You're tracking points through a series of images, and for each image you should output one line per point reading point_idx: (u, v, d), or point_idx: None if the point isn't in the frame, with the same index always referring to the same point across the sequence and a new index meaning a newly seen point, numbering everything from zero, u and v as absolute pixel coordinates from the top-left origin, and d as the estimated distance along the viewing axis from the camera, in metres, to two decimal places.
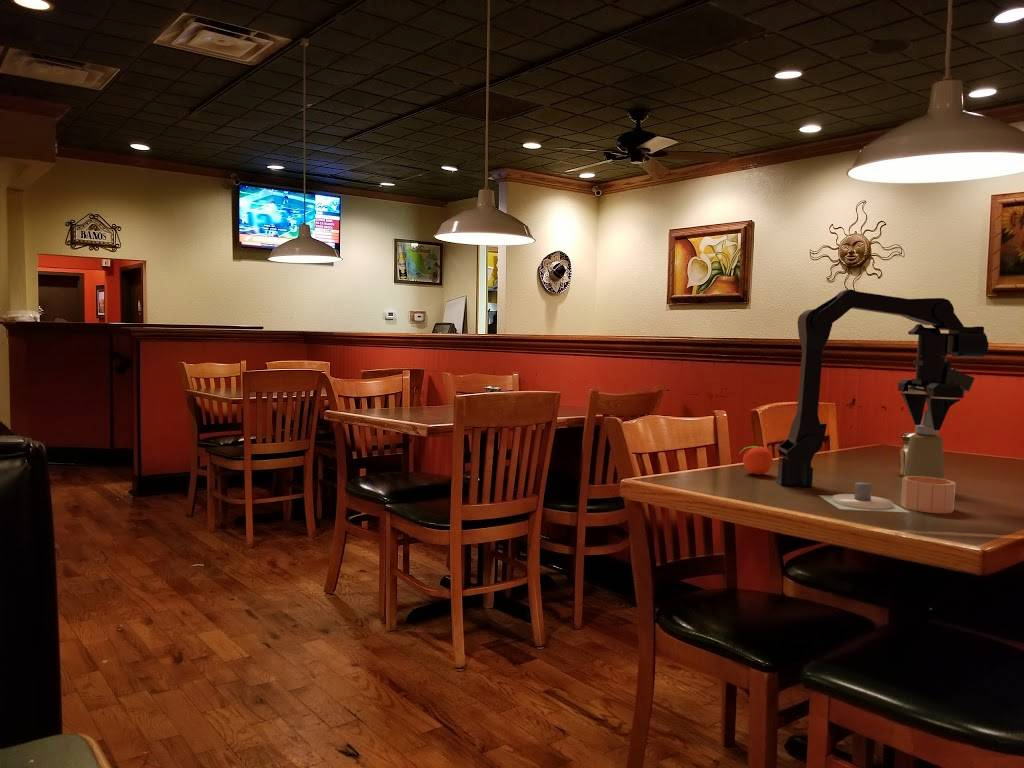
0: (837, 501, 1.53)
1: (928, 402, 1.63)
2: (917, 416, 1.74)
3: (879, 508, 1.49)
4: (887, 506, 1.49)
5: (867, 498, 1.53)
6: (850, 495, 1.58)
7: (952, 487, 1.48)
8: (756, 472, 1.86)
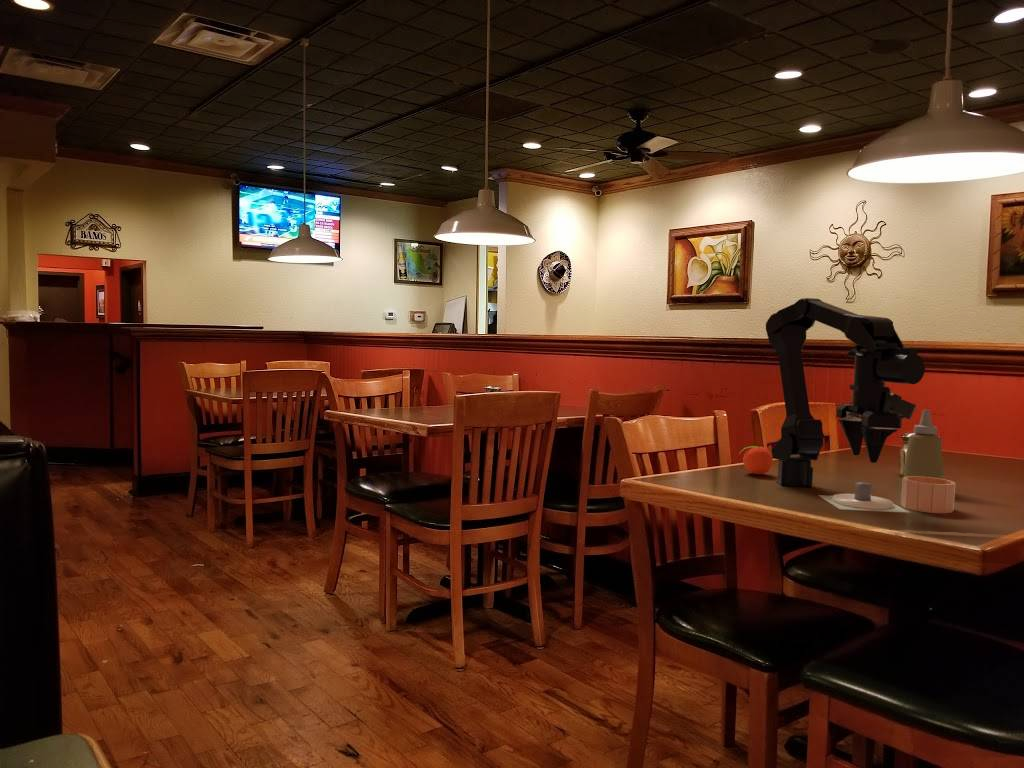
0: (837, 500, 1.53)
1: (863, 432, 1.48)
2: (856, 445, 1.58)
3: (879, 508, 1.49)
4: (887, 506, 1.49)
5: (867, 497, 1.53)
6: (850, 495, 1.58)
7: (952, 487, 1.48)
8: (756, 472, 1.86)
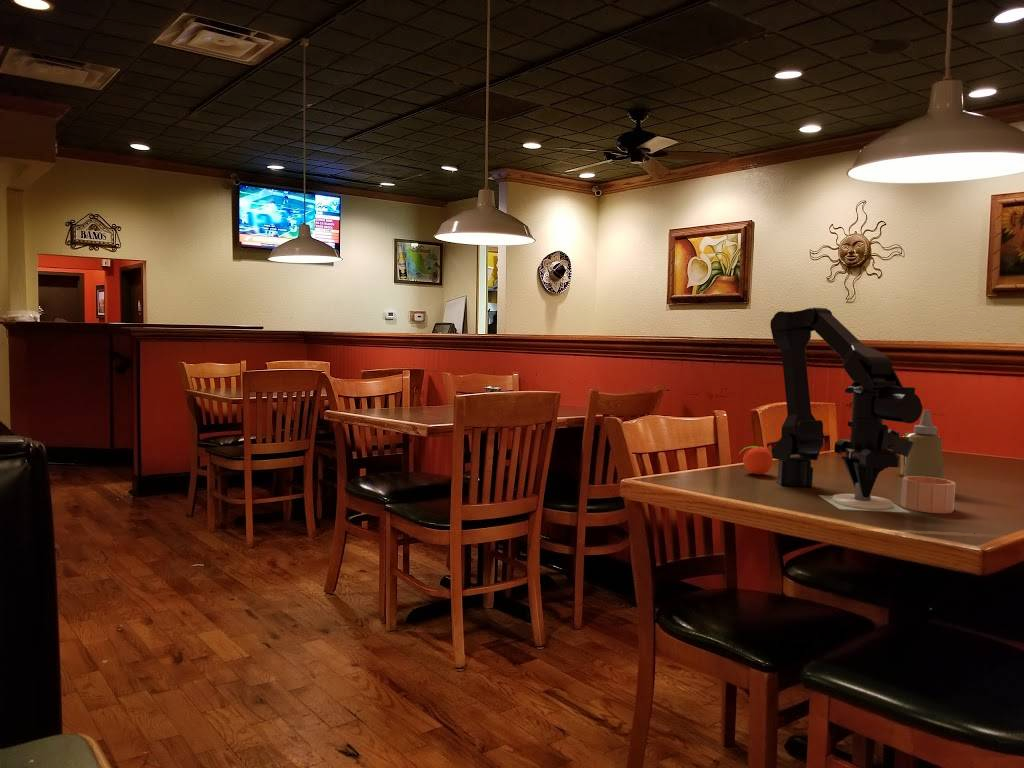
0: (837, 500, 1.53)
1: (856, 467, 1.51)
2: None
3: (879, 508, 1.49)
4: (887, 506, 1.49)
5: (867, 497, 1.53)
6: (850, 495, 1.58)
7: (952, 487, 1.48)
8: (756, 472, 1.86)
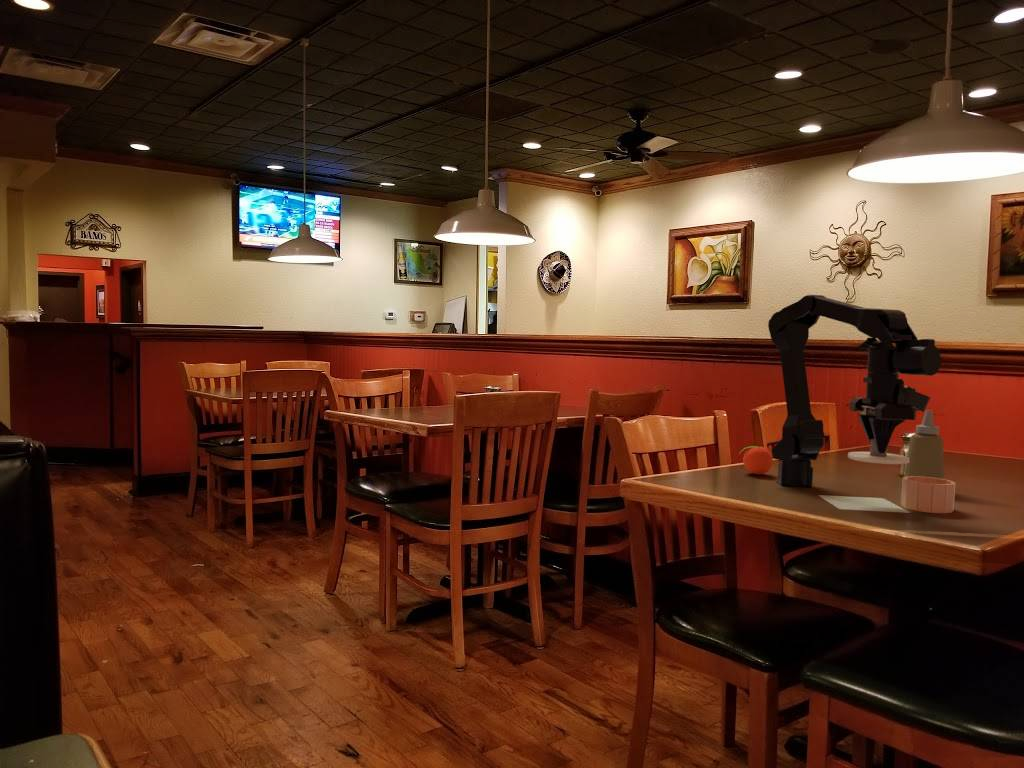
0: (852, 457, 1.52)
1: (871, 422, 1.50)
2: None
3: (895, 463, 1.48)
4: (903, 461, 1.48)
5: (883, 453, 1.52)
6: (865, 452, 1.57)
7: (952, 487, 1.48)
8: (756, 472, 1.86)
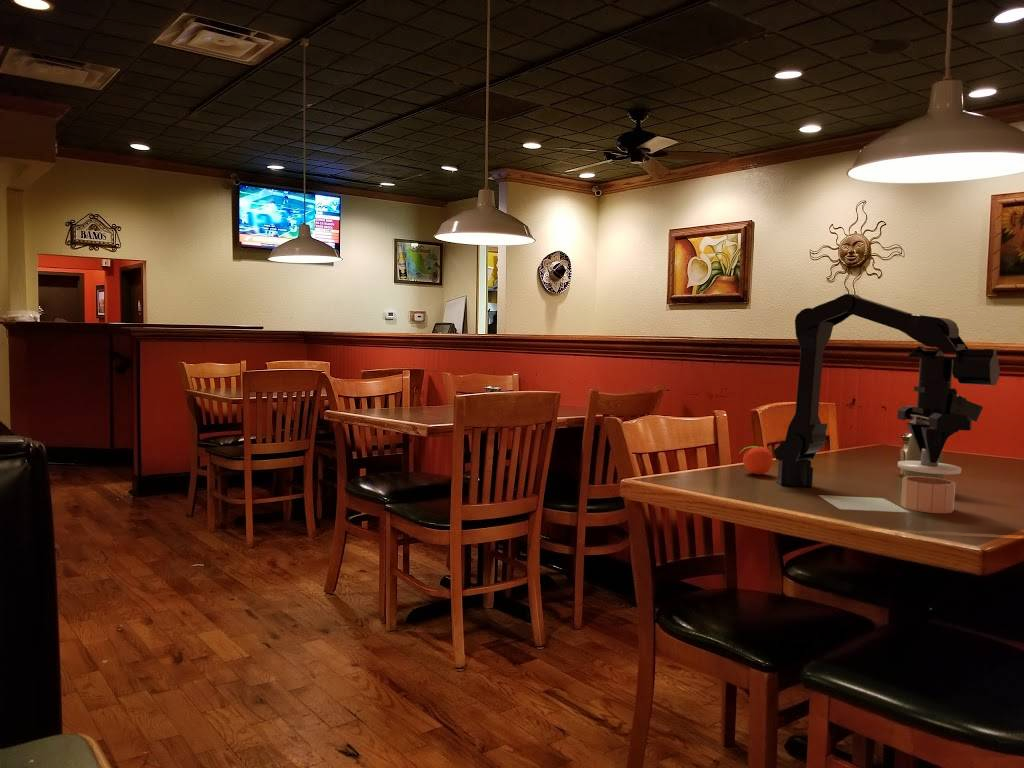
0: (903, 466, 1.51)
1: (924, 432, 1.49)
2: None
3: (949, 473, 1.46)
4: (956, 471, 1.47)
5: (935, 463, 1.50)
6: (915, 461, 1.56)
7: (952, 487, 1.48)
8: (756, 472, 1.86)
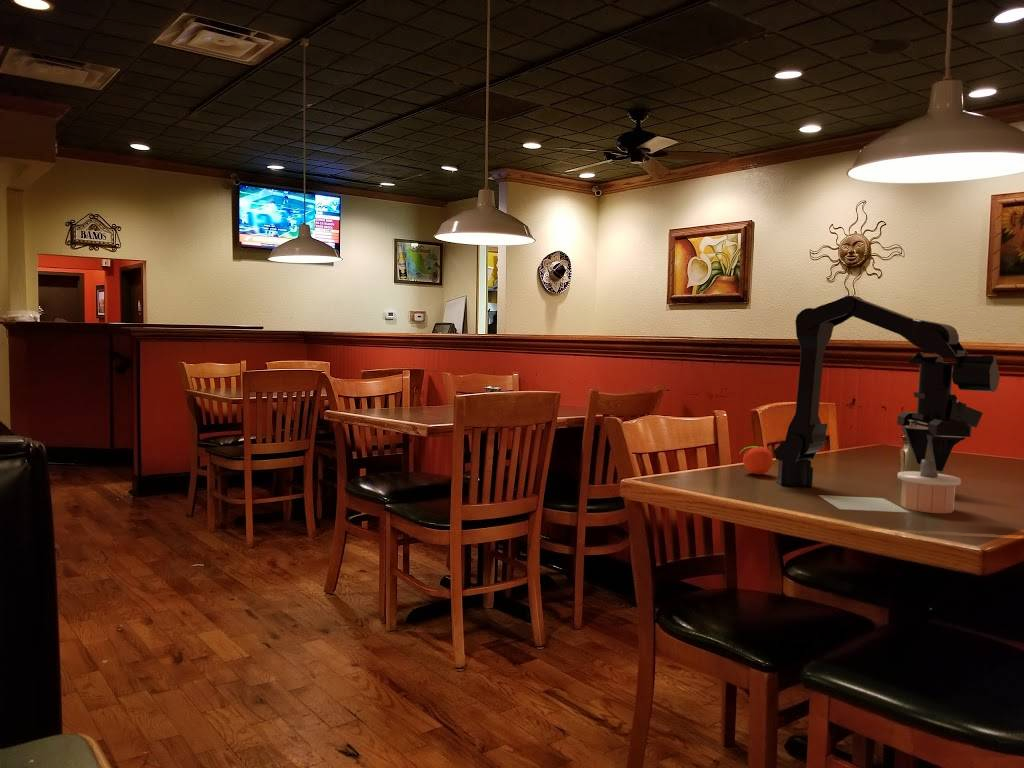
0: (903, 477, 1.51)
1: (929, 440, 1.46)
2: (920, 454, 1.56)
3: (948, 484, 1.47)
4: (956, 482, 1.47)
5: (934, 474, 1.50)
6: (914, 472, 1.56)
7: (952, 487, 1.48)
8: (756, 472, 1.86)
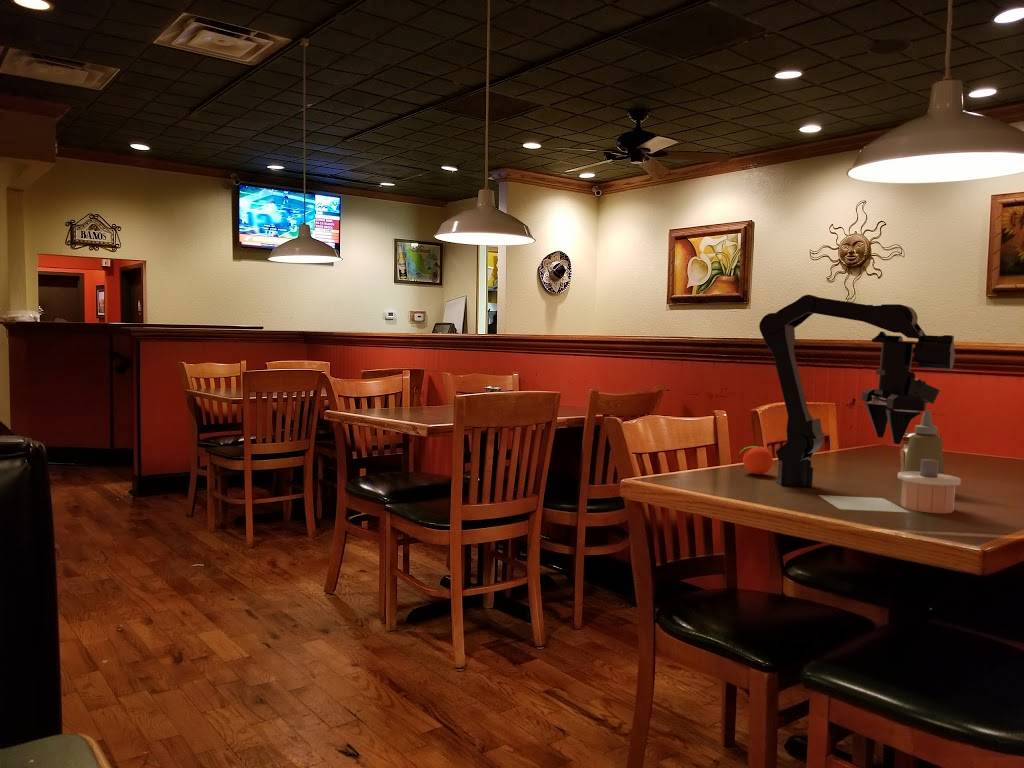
0: (903, 477, 1.51)
1: (888, 414, 1.55)
2: (880, 428, 1.65)
3: (948, 484, 1.47)
4: (956, 482, 1.47)
5: (934, 474, 1.50)
6: (914, 472, 1.56)
7: (952, 487, 1.48)
8: (756, 472, 1.86)
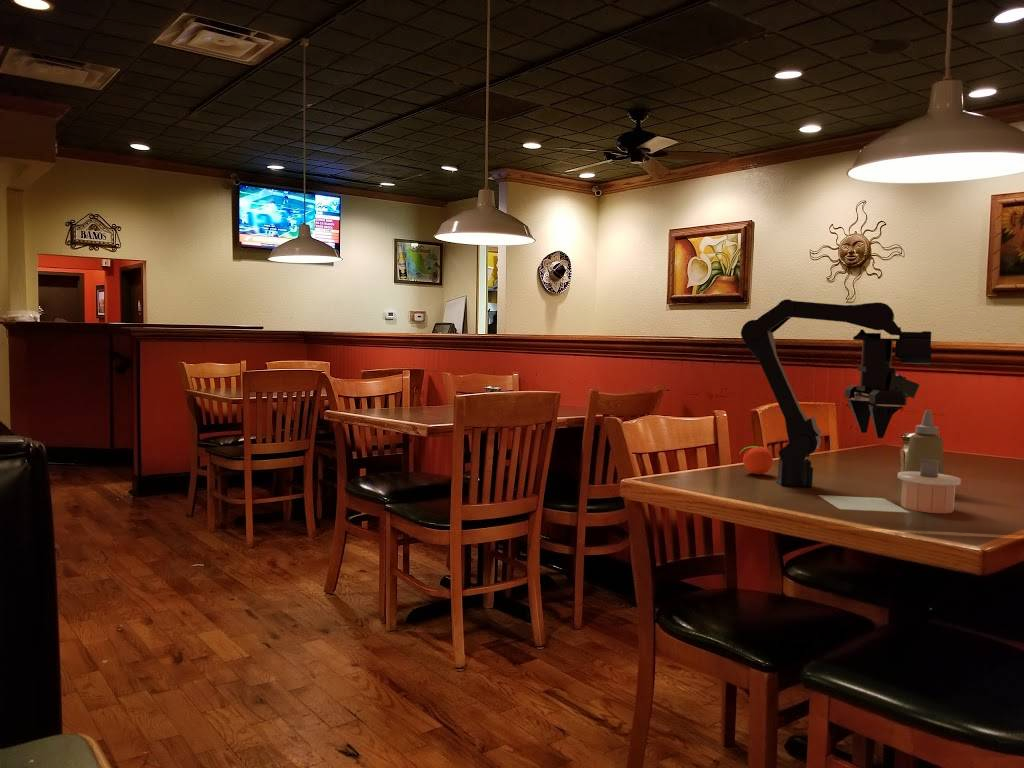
0: (903, 477, 1.51)
1: (871, 409, 1.59)
2: (863, 423, 1.69)
3: (948, 484, 1.47)
4: (956, 482, 1.47)
5: (934, 474, 1.50)
6: (914, 472, 1.56)
7: (952, 487, 1.48)
8: (756, 472, 1.86)
